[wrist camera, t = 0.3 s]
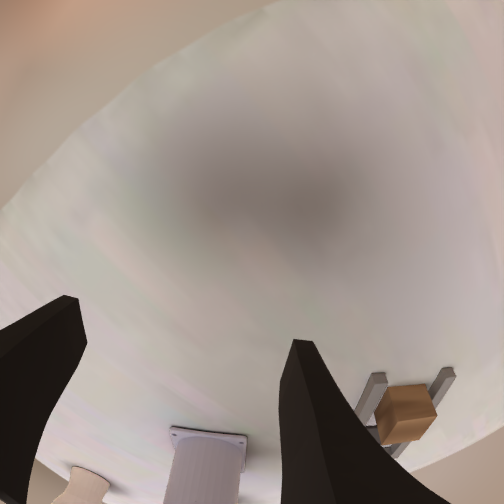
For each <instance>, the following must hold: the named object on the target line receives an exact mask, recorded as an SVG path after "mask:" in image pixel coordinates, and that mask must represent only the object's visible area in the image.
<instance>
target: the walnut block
mask: <svg viewBox="0 0 504 504" xmlns="http://www.w3.org/2000/svg"><path fill="white" fill-rule="evenodd" d="M374 415H375V419H376V424H377V428H378V432H379V436H380V441H381V445H388V444H396V443H403V442H409V441H415V440H419V439H420V438H421V437H422V435H423V434H424V433H425V432H426V430H427V429H428V428H429V426H430V425H431V424H432V423H433V421H434V420H435V418H436V417H437V413H436V411H435V408H434V405H433V403H432V400H431V398H430V395H429V393H428V390H427V388H426V386H425V384H418V385H407V386H395V387H387V389H386V391H385V393H384V395H383V397H382V399H381V401H380V402H379V404H378V406H377V408H376V410H375V412H374Z"/></svg>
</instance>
